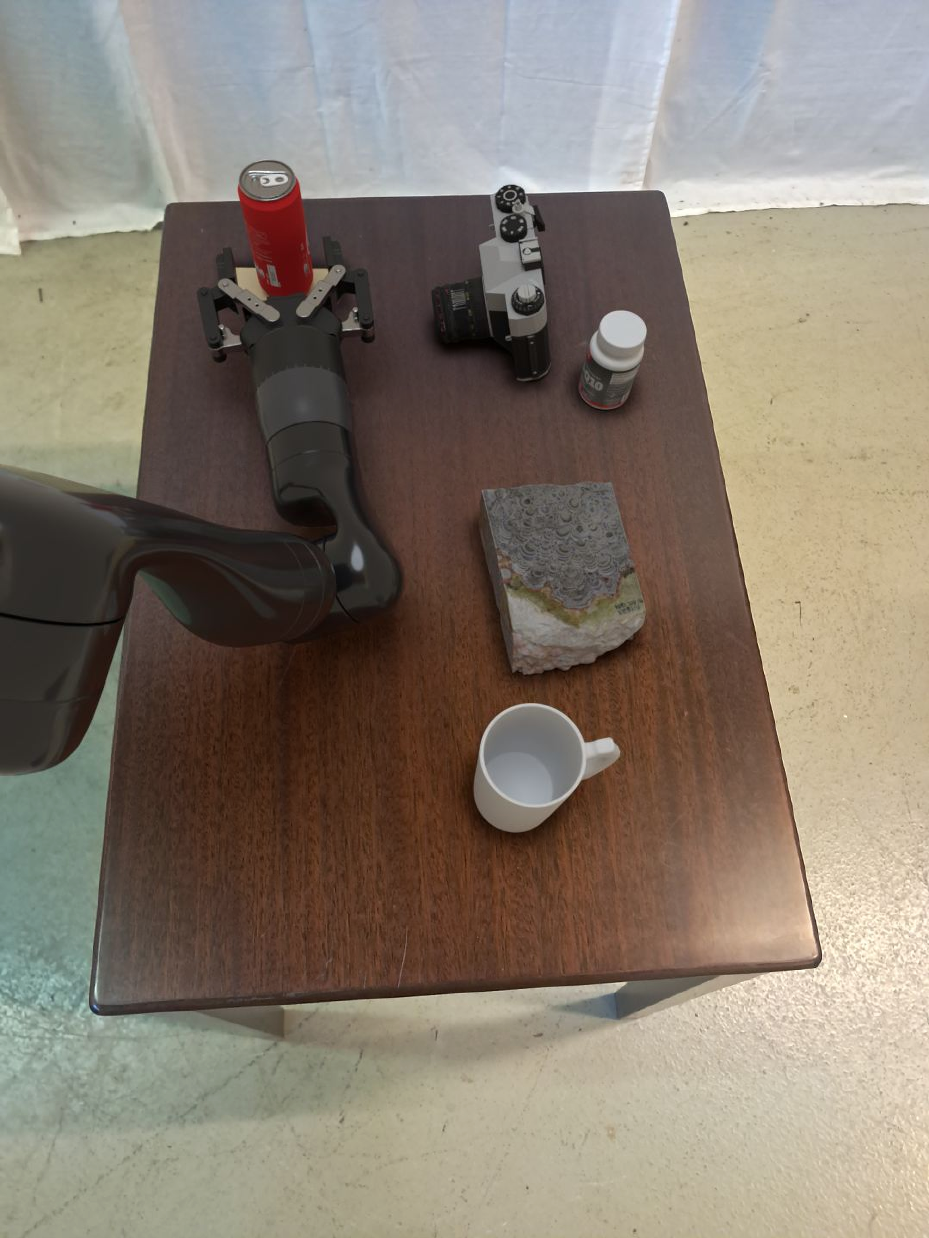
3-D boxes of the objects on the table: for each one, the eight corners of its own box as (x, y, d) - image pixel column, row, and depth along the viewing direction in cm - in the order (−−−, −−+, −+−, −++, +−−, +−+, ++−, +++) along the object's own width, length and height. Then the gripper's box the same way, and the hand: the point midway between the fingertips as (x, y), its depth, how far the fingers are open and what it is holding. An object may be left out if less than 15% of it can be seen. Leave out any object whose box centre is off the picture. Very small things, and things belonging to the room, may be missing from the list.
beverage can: (257, 267, 84) (232, 160, 73) (311, 262, 85) (294, 154, 73) (263, 309, 82) (238, 205, 71) (317, 303, 83) (301, 199, 72)
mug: (478, 843, 64) (490, 816, 53) (462, 755, 67) (470, 711, 56) (609, 820, 65) (647, 788, 54) (588, 734, 68) (621, 687, 57)
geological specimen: (607, 466, 71) (658, 629, 65) (592, 506, 77) (639, 660, 71) (480, 482, 70) (520, 650, 64) (474, 522, 75) (511, 680, 69)
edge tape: (232, 301, 82) (232, 300, 82) (235, 268, 84) (235, 267, 84) (338, 302, 83) (338, 301, 83) (339, 270, 84) (339, 269, 84)
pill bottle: (569, 377, 81) (585, 314, 73) (615, 364, 82) (635, 300, 74) (590, 417, 79) (608, 357, 72) (637, 403, 80) (660, 342, 72)
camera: (435, 275, 86) (415, 193, 77) (542, 254, 85) (536, 169, 76) (448, 396, 81) (429, 324, 72) (564, 376, 80) (559, 300, 71)
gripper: (389, 358, 67) (356, 203, 73) (202, 383, 65) (183, 223, 71) (392, 416, 74) (361, 270, 80) (223, 440, 72) (204, 290, 78)
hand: (277, 248), depth 75 cm, fingers open, 8 cm apart
